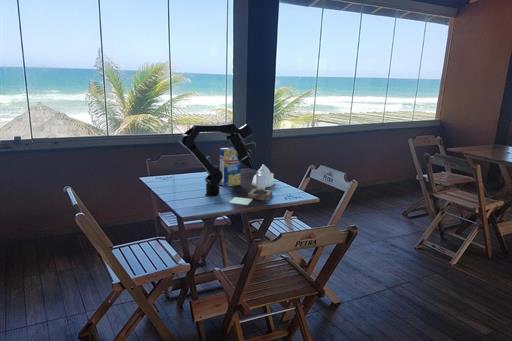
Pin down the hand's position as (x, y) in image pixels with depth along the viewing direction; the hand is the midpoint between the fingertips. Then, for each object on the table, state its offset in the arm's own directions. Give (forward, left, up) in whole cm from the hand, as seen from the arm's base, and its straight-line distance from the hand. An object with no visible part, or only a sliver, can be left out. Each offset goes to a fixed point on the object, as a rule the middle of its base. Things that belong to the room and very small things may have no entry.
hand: (252, 167), depth 208 cm
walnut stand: (+6, -4, -15) cm, 17 cm away
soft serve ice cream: (+2, +21, -15) cm, 26 cm away
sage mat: (-1, -16, -15) cm, 22 cm away
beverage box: (-18, +15, -15) cm, 28 cm away
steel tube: (+6, -4, -15) cm, 17 cm away
